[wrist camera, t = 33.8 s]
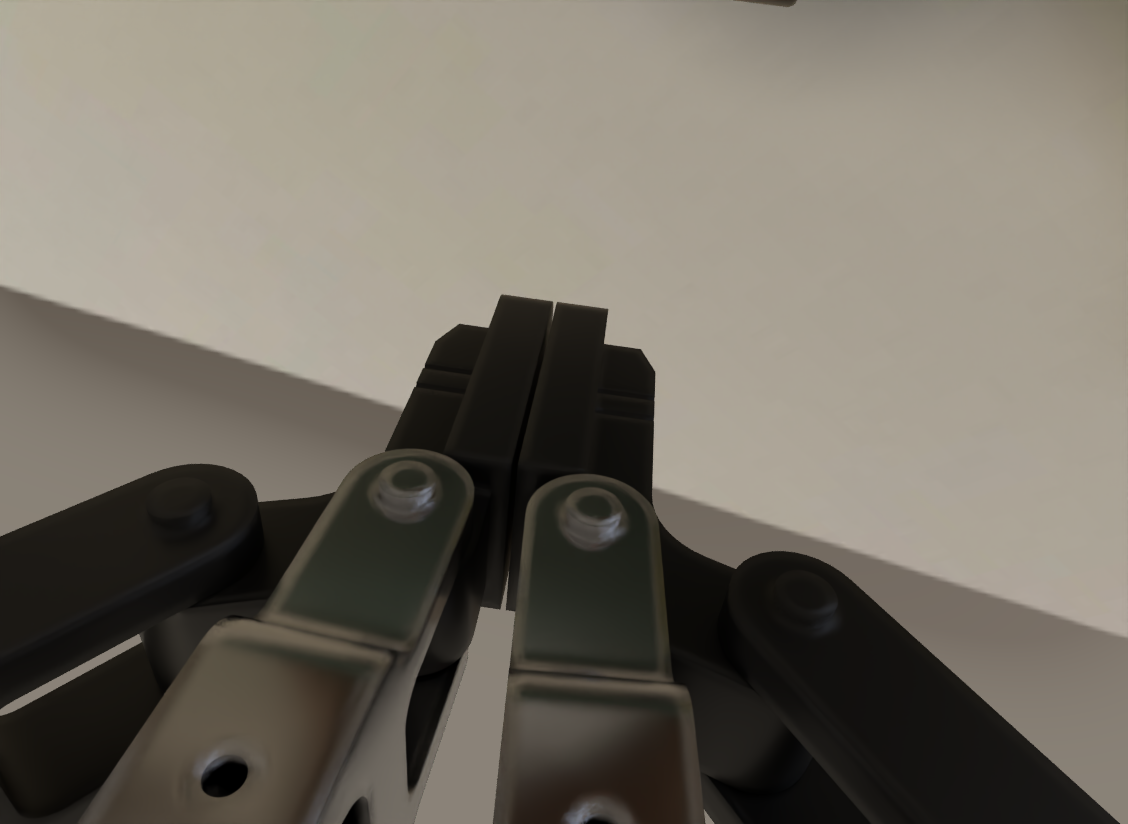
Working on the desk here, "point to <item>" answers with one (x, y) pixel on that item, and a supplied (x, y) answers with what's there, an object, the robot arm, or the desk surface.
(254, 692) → the robot arm
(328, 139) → the desk surface
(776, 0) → the drawer
